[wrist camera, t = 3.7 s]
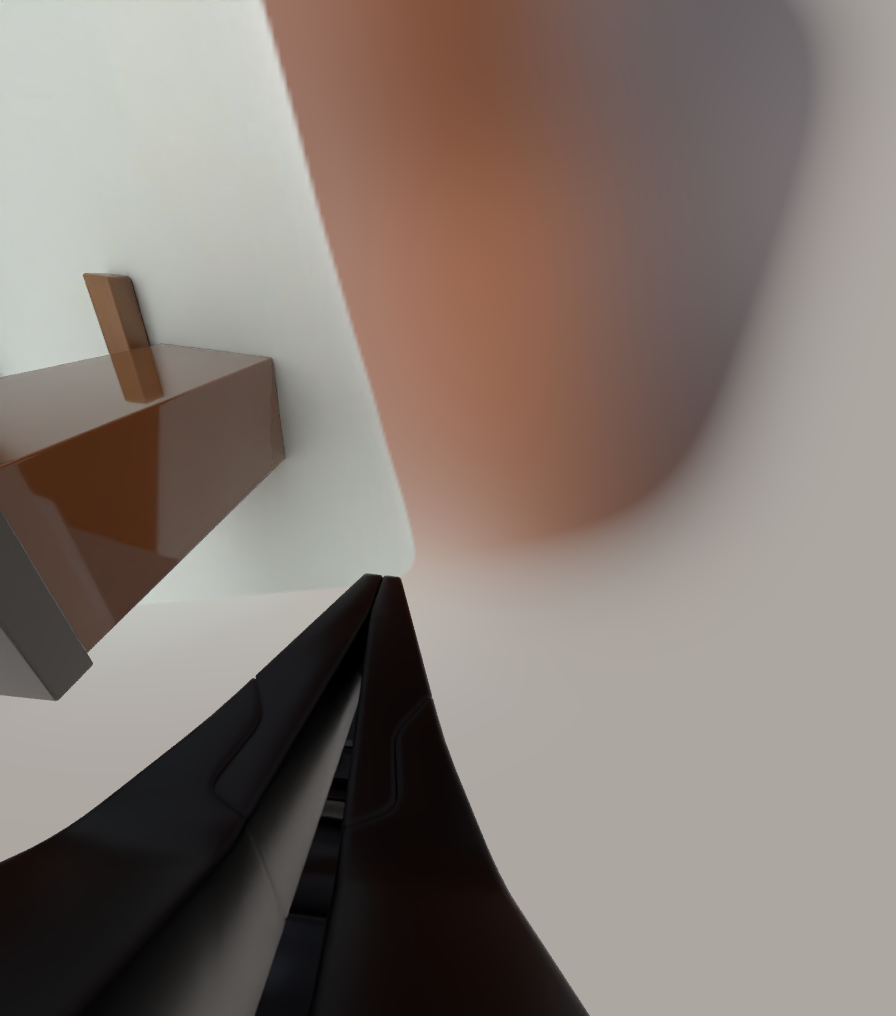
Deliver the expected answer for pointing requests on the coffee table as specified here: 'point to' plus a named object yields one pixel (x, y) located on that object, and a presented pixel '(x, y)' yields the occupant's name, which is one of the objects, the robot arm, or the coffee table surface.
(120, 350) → the stop
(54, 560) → the brown capped block
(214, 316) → the coffee table surface
